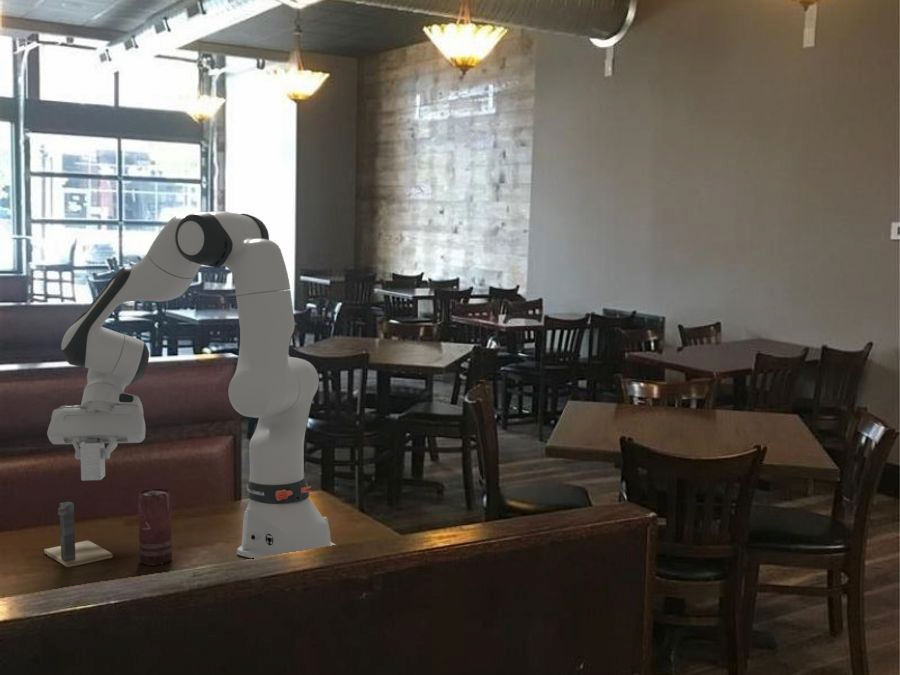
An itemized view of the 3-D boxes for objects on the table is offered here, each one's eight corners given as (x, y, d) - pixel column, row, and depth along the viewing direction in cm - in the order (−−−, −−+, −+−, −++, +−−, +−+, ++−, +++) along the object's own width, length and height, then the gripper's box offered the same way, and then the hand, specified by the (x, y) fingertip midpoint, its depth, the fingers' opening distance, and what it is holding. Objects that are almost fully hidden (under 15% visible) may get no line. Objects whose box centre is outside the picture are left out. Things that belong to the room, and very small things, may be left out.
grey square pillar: (105, 475, 208) (104, 436, 207) (100, 480, 204) (99, 440, 203) (86, 476, 208) (85, 437, 207) (81, 480, 204) (80, 440, 203)
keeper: (115, 558, 190) (113, 499, 189) (61, 570, 183) (59, 509, 182) (88, 544, 200) (86, 487, 199) (35, 554, 193) (33, 496, 192)
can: (163, 566, 186) (162, 496, 184) (134, 564, 187) (132, 494, 186) (178, 557, 192) (177, 488, 190) (149, 555, 193) (148, 487, 192)
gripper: (50, 397, 210) (38, 450, 201) (146, 396, 212) (137, 448, 204) (57, 414, 215) (45, 466, 206) (150, 412, 217) (142, 464, 208)
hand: (92, 457), depth 205 cm, fingers closed on grey square pillar, 4 cm apart
